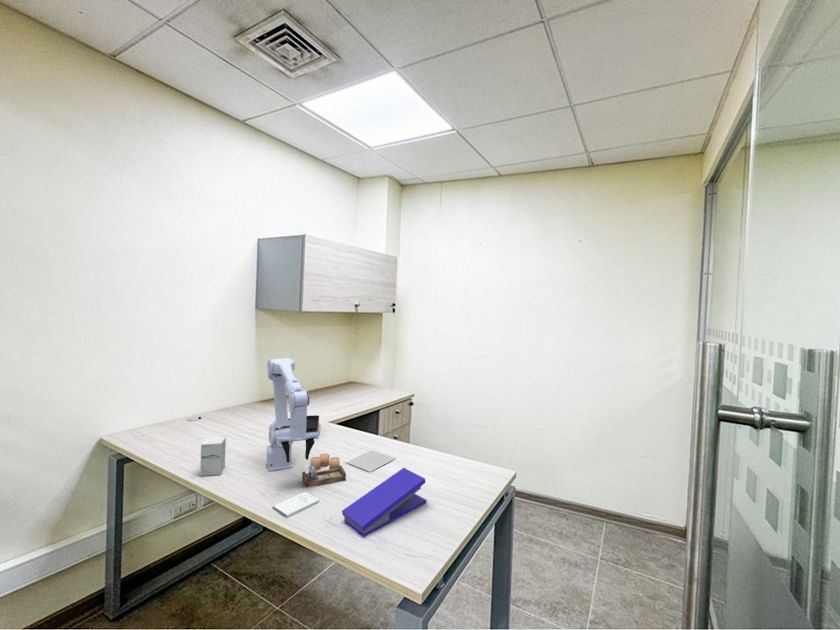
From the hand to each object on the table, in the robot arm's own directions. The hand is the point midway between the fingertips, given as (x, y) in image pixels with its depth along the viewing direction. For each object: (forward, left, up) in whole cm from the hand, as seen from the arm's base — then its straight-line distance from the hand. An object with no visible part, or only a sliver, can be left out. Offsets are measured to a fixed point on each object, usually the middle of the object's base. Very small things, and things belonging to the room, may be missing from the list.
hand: (297, 460), depth 138 cm
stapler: (+24, -29, -10) cm, 39 cm away
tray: (+11, +59, -10) cm, 60 cm away
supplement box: (-28, +23, -10) cm, 37 cm away
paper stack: (+31, +3, -10) cm, 33 cm away
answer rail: (+10, 0, -9) cm, 14 cm away
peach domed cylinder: (+16, +8, -10) cm, 20 cm away
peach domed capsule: (+9, +11, -10) cm, 17 cm away
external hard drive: (-2, -14, -10) cm, 17 cm away
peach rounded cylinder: (+13, +13, -10) cm, 21 cm away
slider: (+6, 0, -8) cm, 10 cm away
